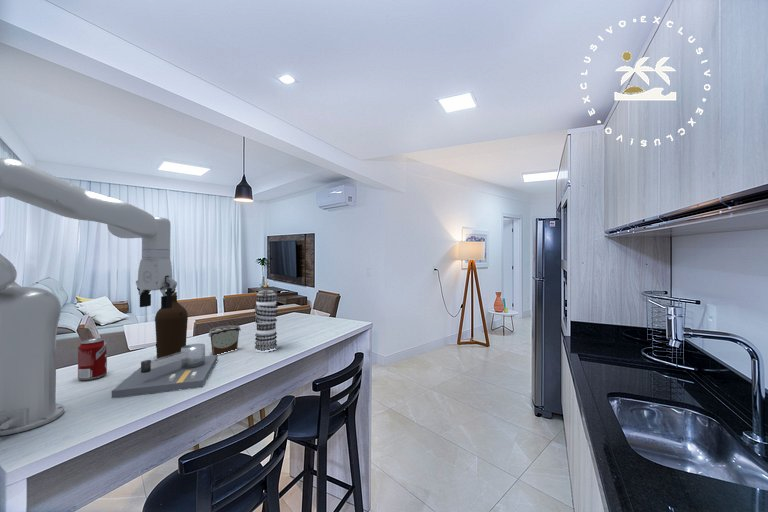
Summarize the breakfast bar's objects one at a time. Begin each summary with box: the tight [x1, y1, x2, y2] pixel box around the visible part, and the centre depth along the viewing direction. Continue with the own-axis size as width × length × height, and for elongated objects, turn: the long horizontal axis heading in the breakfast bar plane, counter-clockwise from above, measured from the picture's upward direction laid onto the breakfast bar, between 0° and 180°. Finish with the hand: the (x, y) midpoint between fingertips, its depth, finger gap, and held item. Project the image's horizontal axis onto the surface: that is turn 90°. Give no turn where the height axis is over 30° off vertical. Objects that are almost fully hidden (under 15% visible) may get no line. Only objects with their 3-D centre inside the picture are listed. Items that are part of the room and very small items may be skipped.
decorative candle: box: [254, 289, 279, 351], centre depth 128 cm, size 9×9×25 cm
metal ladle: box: [140, 343, 206, 373], centre depth 98 cm, size 20×7×6 cm, turn 160°
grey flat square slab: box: [111, 355, 218, 399], centre depth 99 cm, size 25×22×3 cm
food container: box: [208, 325, 241, 356], centre depth 125 cm, size 12×6×10 cm, turn 144°
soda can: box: [77, 337, 108, 381], centre depth 98 cm, size 7×7×12 cm
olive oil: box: [154, 291, 189, 359], centre depth 120 cm, size 11×11×25 cm
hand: (155, 307), depth 99 cm, fingers open, 9 cm apart
